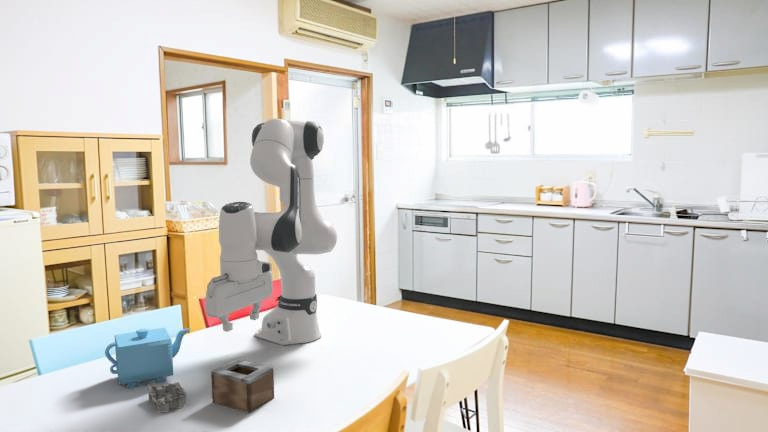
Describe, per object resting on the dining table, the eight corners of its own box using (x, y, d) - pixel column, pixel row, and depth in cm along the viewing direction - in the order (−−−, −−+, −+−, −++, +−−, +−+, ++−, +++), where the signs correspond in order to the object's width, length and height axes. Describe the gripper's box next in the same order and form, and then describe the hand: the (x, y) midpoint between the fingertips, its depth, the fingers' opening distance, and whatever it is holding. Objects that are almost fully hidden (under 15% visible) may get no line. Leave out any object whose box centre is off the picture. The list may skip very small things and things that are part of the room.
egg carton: (146, 399, 139) (145, 383, 138) (177, 392, 143) (176, 376, 143) (157, 415, 130) (156, 399, 130) (189, 407, 135) (188, 390, 134)
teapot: (108, 393, 142) (105, 341, 140) (105, 378, 151) (102, 329, 149) (197, 376, 152) (195, 328, 151) (189, 363, 162) (187, 317, 160)
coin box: (212, 402, 137) (211, 371, 136) (237, 388, 145) (236, 359, 144) (249, 412, 131) (248, 380, 130) (274, 397, 139) (273, 367, 138)
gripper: (217, 281, 123) (220, 340, 125) (276, 262, 141) (277, 315, 143) (197, 277, 126) (200, 335, 128) (256, 260, 144) (258, 311, 146)
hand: (241, 324), depth 136 cm, fingers open, 8 cm apart
